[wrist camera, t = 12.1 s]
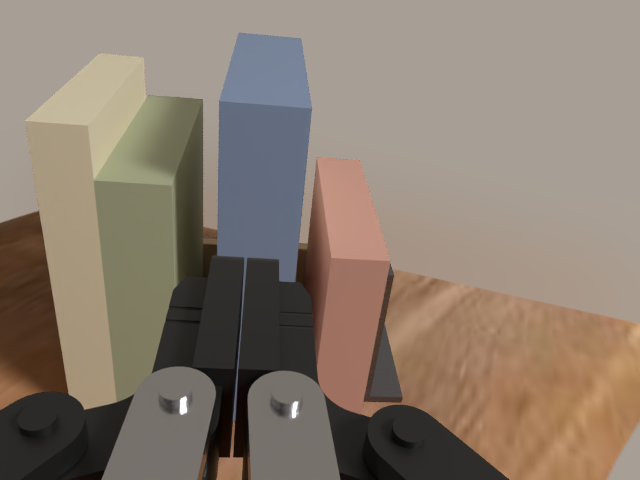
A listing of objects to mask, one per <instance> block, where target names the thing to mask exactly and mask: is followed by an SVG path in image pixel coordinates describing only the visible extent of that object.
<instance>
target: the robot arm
mask: <svg viewBox="0 0 640 480" xmlns="http://www.w3.org/2000/svg"><path fill="white" fill-rule="evenodd" d="M243 276H244V257H231V256H214V255H212V258H211V263H210V269H209V275H208V277H192V276H186V277H185V278H184V279H183V280H182V281H181V282H180V283H179V284H178V285H177V286H176V287H175V288H174V289H173V292H172V296H171V300H170V304H169V309H168V312H167V315H166V320H165V323H164V327H163V331H162V335H161V339H160V343H159V347H158V351H157V354H156V358H155V362H154V366H153V370H152V373H151V374H150V375H149V376H147V377H146V378H145V379H144V380H143V381H142V382H141V383H140V384H139V386H138V387H137V389H136V392H135V394H133V395H132V396H130V397H128V398H126V399H124V400H121V401H119V402H116V403H112V404H108V405H103V406H99V407H94V408H90V409H85V410H84V407H83V406H82V404H81V403H80V402H79V401H78V400H77V399H76V398H74V397H73V396H71V395H68V394H65V393H61V392H41V393H36V394H32V395H29V396H26V397H24V398H21V399H19V400H17V401H15V402H14V403H12V404H10V405H9V406H7V407H5V408H4V409H2V410H0V480H216V478H217V471H218V461H219V457H230V449H231V437H232V425H233V413H234V401H235V389H236V377H237V365H238V353H239V341H240V328H241V312H242V294H243ZM312 315H313V312H312V299H311V296H310V295H309V293H308V292H307V290H306V289H305V288H304V286H303V285H302V283H300V282H282V281H279V259H265V258H249V257H247V267H246V279H245V291H244V304H243V316H242V328H241V341H240V353H239V365H238V381H237V399H236V417H235V435H234V453H233V457H243V470H242V480H509V479H508V478H507V477H505V476H504V475H503V474H502V473H501V472H499V471H498V470H497V469H496V468H494V467H493V466H492V465H491V464H490V463H488V462H487V461H486V460H485V459H483V458H482V457H481V456H480V455H479V454H477V453H476V452H475V451H474V450H472V449H471V448H470V447H469V446H468V445H466V444H465V443H464V442H463V441H461V440H460V439H459V438H458V437H456V436H455V435H454V434H453V433H452V432H450V431H449V430H448V429H447V428H445V427H444V426H443V425H442V424H441V423H439V422H438V421H437V420H436V419H434V418H433V417H432V416H430V415H429V414H428V413H426V412H424V411H422V410H420V409H418V408H415V407H411V406H407V405H391V406H387V407H384V408H382V409H380V410H378V411H377V412H376V413H374V415H373V416H372V417H367V416H364V415H361V414H358V413H354V412H351V411H349V410H346V409H344V408H342V407H340V406H338V405H337V404H335V403H334V402H332V401H331V400H330V399H329V398H328V397H327V396H326V395H325V394H324V392H323V391H322V389H321V387H320V385H319V381H318V373H317V361H316V349H315V336H314V324H313V316H312Z"/></svg>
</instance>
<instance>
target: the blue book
mask: <svg viewBox="0 0 640 480" xmlns="http://www.w3.org/2000/svg"><path fill="white" fill-rule="evenodd" d="M311 112H312V106H311V100H310V93H309V87H308V80H307V74H306V68H305V61H304V54H303V47H302V41H301V39H300V38H290V37H278V36H268V35H257V34H246V33H239V34H238V37H237V41H236V45H235V48H234V51H233V55H232V58H231V62H230V65H229V69H228V72H227V76H226V80H225V83H224V87H223V90H222V93H221V97H220V101H219V159H218V163H219V164H218V233H217V256H231V257H244V276H243V294H242V312H241V328H242V316H243V304H244V291H245V279H246V267H247V257H249V258H265V259H279V281H282V282H295V278H296V268H297V258H298V247H299V237H300V226H301V216H302V205H303V195H304V184H305V173H306V164H307V153H308V143H309V133H310V122H311ZM241 328H240V341H241ZM240 341H239V353H240ZM239 353H238V365H239ZM238 365H237V377H236V389H235V401H234V413H233V421H235V417H236V399H237V381H238Z"/></svg>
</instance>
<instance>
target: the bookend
mask: <svg viewBox="0 0 640 480" xmlns="http://www.w3.org/2000/svg"><path fill="white" fill-rule="evenodd" d="M393 278H394V274H393V271H392V267H391V264H390V266H389V272H388V277H387V282H386V287H385V292H384V298H383V303H382V308H381V313H380V318H379V323H378V329H377V334H376V339H375V344H374V349H373V355H372V360H371V365H370V370H369V375H368V380H367V386H366V391H365V396H364V401H374V402H401V401H402V393H401V389H400V385H399V381H398V377H397V373H396V369H395V365H394V361H393V357H392V352H391V348H390V344H389V340H388V336H387V332H386V328H385V324H384V323H385V318H386V313H387V308H388V303H389V298H390V293H391V288H392V283H393Z"/></svg>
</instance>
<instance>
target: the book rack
mask: <svg viewBox="0 0 640 480" xmlns="http://www.w3.org/2000/svg"><path fill="white" fill-rule="evenodd" d="M25 126H26V132H27V138H28V144H29V151H30V157H31V163H32V169H33V175H34V181H35V188H36V193H37V200H38V206H39V213H40V219H41V225H42V231H43V238H44V244H45V250H46V256H47V262H48V269H49V275H50V281H51V287H52V294H53V300H54V306H55V312H56V318H57V325H58V331H59V337H60V343H61V350H62V356H63V362H64V368H65V374H66V381H67V387H68V393H69V395H71V396H73V397H74V398H76V399H77V400H78V401H79V402H80V403H81V404H82V406H83V407H84V410H85V409H90V408H94V407H99V406H103V405H108V404H112V403H116V402H119V401H121V400H124V399H126V398H128V397H130V396H132V395H133V394H135V392H136V389H137V387H138V386H139V384H140V383H141V382H142V381H143V380H144V379H145V378H146V377H147V376H149V375H150V374H151V373H152V370H153V366H154V362H155V358H156V354H157V351H158V347H159V343H160V339H161V335H162V331H163V327H164V323H165V320H166V315H167V312H168V309H169V304H170V300H171V296H172V292H173V289H174V288H175V287H176V286H177V285H178V284H179V283H180V282H181V281H182V280H183V279H184V278H185V277H186V276H192V277H208V275H209V269H210V263H211V258H212V255H214V256H217V239H214V238H203V99H192V98H180V97H167V96H155V95H148V97H147V98H146V93H145V72H144V57H134V56H123V55H111V54H99V55H97V56H96V57H95V58H94V59H93V60H92V61H91V62H90V63H89V64H87V65H86V66H85V67H84V68H83V69H82V70H81V71H80V72H79V73H78V74H76V75H75V76H74V77H73V78H72V79H71V80H70V81H69V82H67V83H66V84H65V85H64V86H63V87H62V88H61V89H60V90H59V91H57V92H56V93H55V94H54V95H53V96H52V97H51V98H50V99H49V100H47V101H46V103H44V104H43V105H42V106H41V107H40V108H39V109H37V111H35V112H34V113H33V114H32V115H31V116H30V117H29V118H27V119H26V120H25ZM389 266H390V258H389V254H388V251H387V248H386V245H385V241H384V238H383V235H382V231H381V228H380V225H379V222H378V218H377V215H376V212H375V209H374V205H373V202H372V199H371V195H370V192H369V188H368V185H367V182H366V179H365V175H364V172H363V169H362V166H361V162H360V160H347V159H334V158H333V159H332V158H320V157H319V158H318V157H317V161H316V171H315V180H314V190H313V199H312V209H311V218H310V228H309V238H308V244H303V243H299V247H298V258H297V268H296V278H295V282H300V283H302V285H303V286H304V288H305V289H306V290H307V292H308V293H309V295H310V296H311V299H312V312H313V315H312V316H313V324H314V336H315V349H316V361H317V373H318V381H319V385H320V387H321V389H322V391H323V392H324V394H325V395H326V396H327V397H328V398H329V399H330V400H331V401H332V402H334V403H335V404H337V405H338V406H340V407H342V408H344V409H346V410H349V411H351V412H354V413H358V414H361V411H362V406H363V401H364V396H365V391H366V386H367V380H368V375H369V370H370V365H371V360H372V355H373V349H374V344H375V339H376V334H377V329H378V323H379V318H380V313H381V308H382V303H383V298H384V292H385V287H386V282H387V277H388V272H389Z"/></svg>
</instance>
